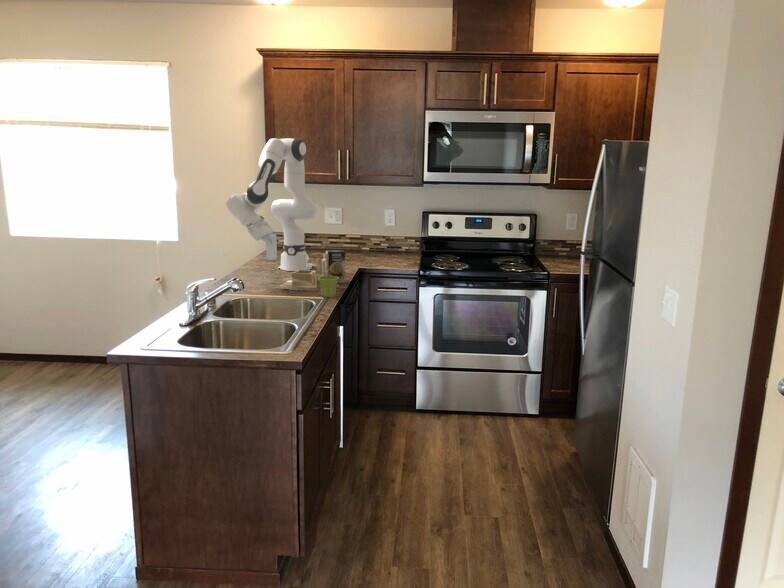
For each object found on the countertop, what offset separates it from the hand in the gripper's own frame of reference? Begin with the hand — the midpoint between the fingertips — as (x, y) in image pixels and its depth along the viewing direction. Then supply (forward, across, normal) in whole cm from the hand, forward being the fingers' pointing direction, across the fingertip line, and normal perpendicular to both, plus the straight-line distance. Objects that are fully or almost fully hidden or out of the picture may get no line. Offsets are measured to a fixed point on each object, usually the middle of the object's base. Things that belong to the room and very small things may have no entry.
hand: (272, 243), depth 303 cm
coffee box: (+35, +10, -6) cm, 37 cm away
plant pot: (+38, -22, -9) cm, 45 cm away
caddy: (+26, -5, +2) cm, 27 cm away
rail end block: (+5, 0, +6) cm, 8 cm away
